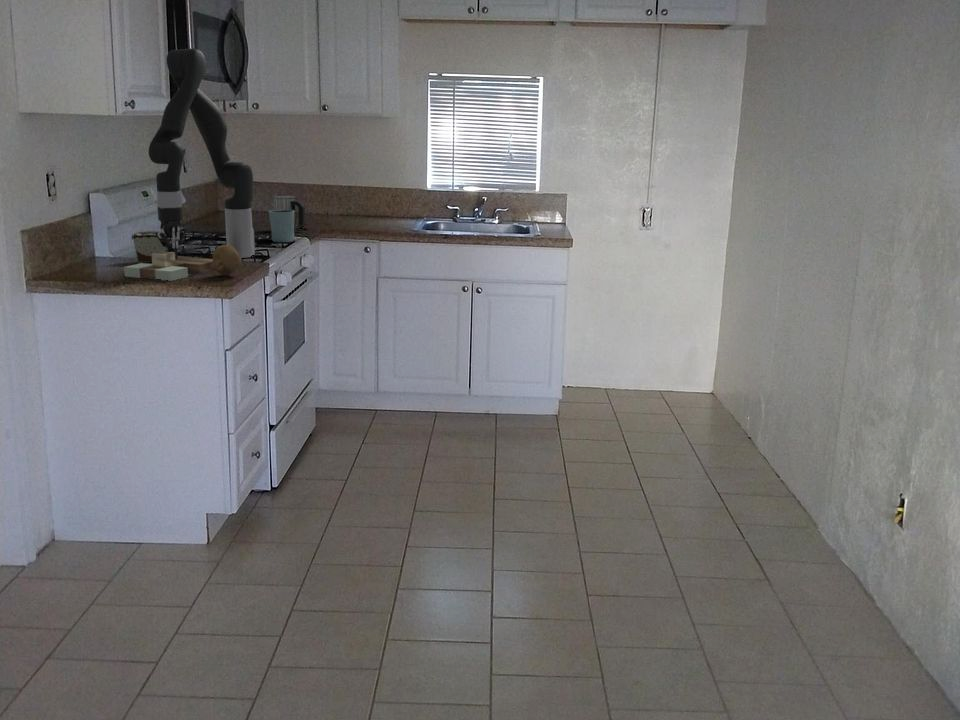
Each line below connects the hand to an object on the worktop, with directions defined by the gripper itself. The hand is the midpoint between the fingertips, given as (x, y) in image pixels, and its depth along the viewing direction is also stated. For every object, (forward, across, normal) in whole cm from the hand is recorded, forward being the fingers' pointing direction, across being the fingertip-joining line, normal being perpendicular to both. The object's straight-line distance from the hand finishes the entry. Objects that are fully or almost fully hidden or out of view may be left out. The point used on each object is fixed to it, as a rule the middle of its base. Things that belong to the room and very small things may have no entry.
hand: (173, 259), depth 302 cm
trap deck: (+4, 0, 0) cm, 4 cm away
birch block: (+1, +5, 0) cm, 5 cm away
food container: (+4, -14, -20) cm, 25 cm away
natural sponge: (+4, -3, +19) cm, 20 cm away
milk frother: (+4, -105, -21) cm, 107 cm away
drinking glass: (+4, -76, -8) cm, 77 cm away
